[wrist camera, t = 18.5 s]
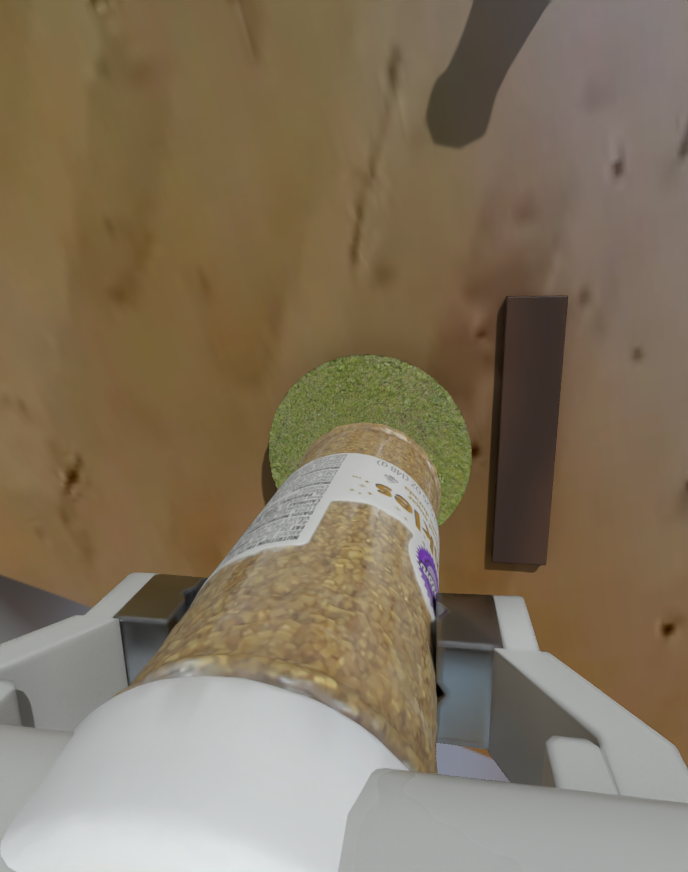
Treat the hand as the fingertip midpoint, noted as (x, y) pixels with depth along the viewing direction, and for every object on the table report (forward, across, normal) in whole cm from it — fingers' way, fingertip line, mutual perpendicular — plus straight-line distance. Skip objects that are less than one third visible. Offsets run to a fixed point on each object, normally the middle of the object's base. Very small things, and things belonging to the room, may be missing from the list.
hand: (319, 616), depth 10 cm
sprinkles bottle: (+7, 0, 0) cm, 7 cm away
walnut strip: (+22, -7, +2) cm, 23 cm away
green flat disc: (+22, +1, +3) cm, 22 cm away
